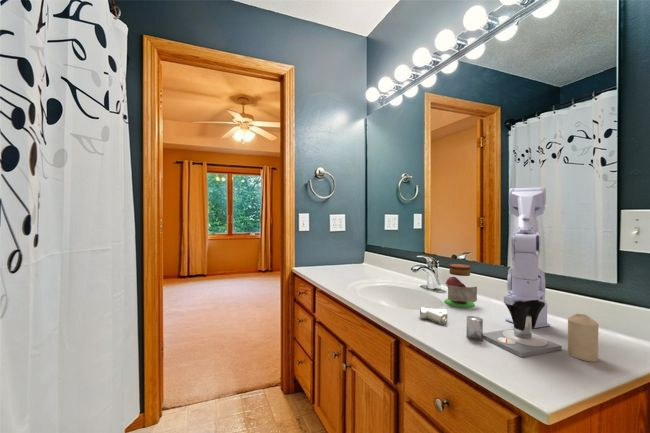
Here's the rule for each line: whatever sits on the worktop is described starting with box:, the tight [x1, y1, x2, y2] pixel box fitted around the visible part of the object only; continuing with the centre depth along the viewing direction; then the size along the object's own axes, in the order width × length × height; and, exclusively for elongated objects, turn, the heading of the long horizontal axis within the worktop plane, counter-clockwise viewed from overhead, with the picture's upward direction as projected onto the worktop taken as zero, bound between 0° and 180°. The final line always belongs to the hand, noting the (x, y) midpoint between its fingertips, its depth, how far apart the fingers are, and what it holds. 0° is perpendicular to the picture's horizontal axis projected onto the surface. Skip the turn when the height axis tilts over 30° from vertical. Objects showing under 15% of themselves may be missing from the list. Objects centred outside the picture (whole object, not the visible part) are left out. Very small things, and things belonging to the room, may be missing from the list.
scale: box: [483, 328, 563, 358], centre depth 76 cm, size 14×12×1 cm
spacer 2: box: [513, 314, 533, 338], centre depth 77 cm, size 4×4×6 cm
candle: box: [567, 313, 599, 363], centre depth 69 cm, size 6×6×10 cm
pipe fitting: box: [419, 306, 448, 325], centre depth 92 cm, size 8×4×7 cm
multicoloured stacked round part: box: [444, 263, 478, 309], centre depth 111 cm, size 12×13×15 cm
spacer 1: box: [465, 315, 484, 342], centre depth 79 cm, size 4×4×6 cm
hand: (524, 328), depth 77 cm, fingers closed on spacer 2, 4 cm apart
